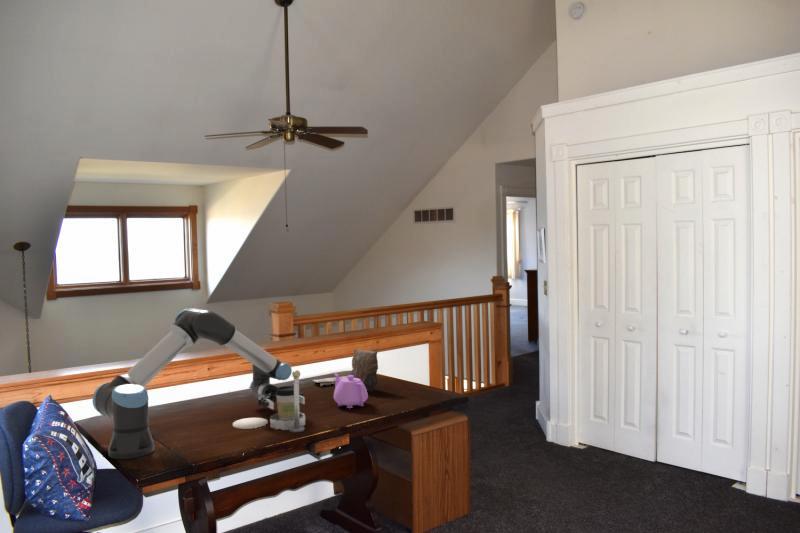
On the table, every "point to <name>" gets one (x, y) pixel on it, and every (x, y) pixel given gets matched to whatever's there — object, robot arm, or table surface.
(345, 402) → the teapot
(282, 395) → the coffee cup
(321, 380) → the newspaper
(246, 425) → the cream pad
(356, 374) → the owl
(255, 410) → the table surface
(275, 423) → the ring stand
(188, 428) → the table surface
